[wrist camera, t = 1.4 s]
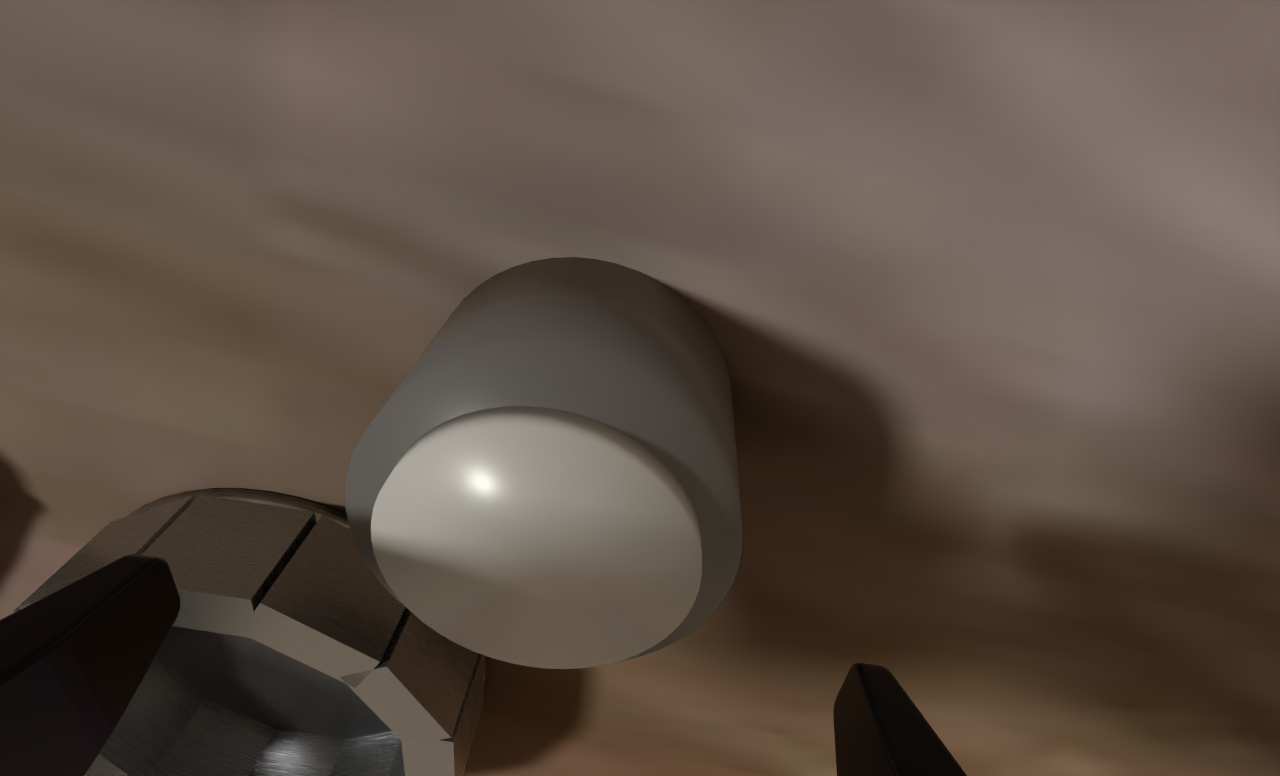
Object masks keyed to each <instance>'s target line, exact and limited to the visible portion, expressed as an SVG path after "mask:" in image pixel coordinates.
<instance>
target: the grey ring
mask: <svg viewBox="0 0 1280 776" xmlns="http://www.w3.org/2000/svg"><path fill="white" fill-rule="evenodd" d="M130 554H141V555H147V556H154V557H160V558H163V559H164V560H165V561H166V562H167V563H168V565H169V567H170V570H171V573H172V576H173V579H174V582H175V585H176V588H177V590H178V593H179V596H180V610H179V613H178V616H177V618H176V621H175V622H174V624H173V626H172V628H171V630H170V632H169V633H168V635H167V637H166V639H165V641H164V642H163V644H162V646H161V648H160V650H159V651H158V653H157V655H156V657H155V659H154V660H153V662H152V664H151V666H150V668H149V669H148V671H147V673H146V675H145V677H144V679H143V680H142V682H141V684H140V686H139V688H138V689H137V691H136V693H135V695H134V697H133V698H132V700H131V702H130V704H129V706H128V707H127V709H126V711H125V713H124V715H123V716H122V718H121V720H120V721H119V723H118V725H117V726H116V728H115V730H114V732H113V733H112V735H111V736H110V738H109V739H108V741H107V742H106V744H105V746H104V747H103V749H102V750H101V752H100V753H99V755H98V756H97V758H96V759H95V761H94V762H93V763H92V765H91V766H90V768H89V769H88V771H87V772H86V774H85V775H86V776H463V774H464V771H465V767H466V764H467V761H468V757H469V754H470V751H471V747H472V744H473V740H474V737H475V734H476V730H477V727H478V724H479V720H480V717H481V714H482V710H483V706H484V685H485V682H486V676H487V668H488V661H487V656H485V655H482V654H479V653H477V652H474V651H472V650H469V649H467V648H465V647H463V646H461V645H459V644H456V643H455V642H453V641H451V640H449V639H448V638H446V637H444V636H442V635H441V634H439V633H438V632H436V631H435V630H433V629H432V628H430V627H429V626H428V625H426V624H425V623H423V622H422V621H421V620H420V619H419V618H418V617H417V616H415V615H414V614H413V613H412V612H411V611H410V610H409V609H407V608H406V607H405V606H404V605H403V604H402V603H400V602H399V601H398V600H397V599H396V598H395V597H394V596H393V595H392V594H391V593H390V592H389V591H388V590H387V589H386V588H385V587H384V586H383V585H382V584H381V583H380V581H379V580H378V579H377V577H376V576H375V575H374V573H373V572H372V571H371V569H370V568H369V567H368V565H367V564H366V562H365V560H364V558H363V557H362V555H361V553H360V551H359V549H358V548H357V545H356V543H355V540H354V538H353V535H352V532H351V530H350V526H349V522H348V517H347V514H344V513H342V512H339V511H337V510H334V509H332V508H329V507H327V506H323V505H320V504H317V503H313V502H310V501H307V500H303V499H300V498H296V497H291V496H286V495H281V494H276V493H271V492H266V491H256V490H246V489H204V490H195V491H187V492H182V493H178V494H174V495H170V496H166V497H163V498H160V499H158V500H155V501H153V502H151V503H148V504H146V505H144V506H142V507H141V508H139V509H138V510H136V511H135V512H133V513H131V514H130V515H128V516H127V517H125V518H122V519H119V520H116V521H113V522H110V523H109V524H108V525H107V526H106V527H105V528H104V529H102V530H101V531H100V532H99V533H98V534H97V535H96V536H95V537H94V538H93V539H92V540H90V541H89V542H88V543H87V544H86V545H85V546H84V547H83V548H82V549H81V550H80V551H78V552H77V553H76V554H75V555H74V556H73V557H72V558H71V559H70V560H69V561H68V562H66V563H65V564H64V565H63V566H62V567H61V568H60V569H59V570H58V571H57V572H56V573H54V574H53V575H52V576H51V577H50V578H49V579H48V580H47V581H46V582H45V583H44V584H43V585H41V586H40V587H39V588H38V589H37V590H36V591H35V592H34V593H33V594H32V595H31V596H29V597H28V598H27V599H26V600H25V601H24V602H23V603H22V604H21V605H20V606H19V607H17V608H16V609H15V610H14V613H15V612H17V611H19V610H21V609H23V608H25V607H26V606H28V605H30V604H32V603H34V602H36V601H38V600H40V599H42V598H44V597H46V596H48V595H50V594H52V593H53V592H55V591H57V590H59V589H61V588H63V587H65V586H67V585H69V584H71V583H73V582H75V581H77V580H79V579H81V578H82V577H84V576H86V575H88V574H90V573H92V572H94V571H96V570H98V569H100V568H102V567H104V566H106V565H108V564H109V563H111V562H113V561H115V560H117V559H119V558H121V557H124V556H126V555H130Z"/></svg>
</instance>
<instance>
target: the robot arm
mask: <svg viewBox="0 0 1280 776" xmlns="http://www.w3.org/2000/svg"><path fill="white" fill-rule="evenodd" d="M179 610H180V596H179V593H178V590H177V588H176V585H175V582H174V579H173V576H172V573H171V570H170V567H169V565H168V563H167V562H166V561H165V560H164V559H163V558H160V557H154V556H147V555H141V554H130V555H126V556H124V557H121V558H119V559H117V560H115V561H113V562H111V563H109V564H108V565H106V566H104V567H102V568H100V569H98V570H96V571H94V572H92V573H90V574H88V575H86V576H84V577H82V578H81V579H79V580H77V581H75V582H73V583H71V584H69V585H67V586H65V587H63V588H61V589H59V590H57V591H55V592H53V593H52V594H50V595H48V596H46V597H44V598H42V599H40V600H38V601H36V602H34V603H32V604H30V605H28V606H26V607H25V608H23V609H21V610H19V611H17V612H15V613H13V614H11V615H9V616H7V617H5V618H3V619H1V620H0V776H84V775H85V774H86V772H87V771H88V769H89V768H90V766H91V765H92V763H93V762H94V761H95V759H96V758H97V756H98V755H99V753H100V752H101V750H102V749H103V747H104V746H105V744H106V742H107V741H108V739H109V738H110V736H111V735H112V733H113V732H114V730H115V728H116V726H117V725H118V723H119V721H120V720H121V718H122V716H123V715H124V713H125V711H126V709H127V707H128V706H129V704H130V702H131V700H132V698H133V697H134V695H135V693H136V691H137V689H138V688H139V686H140V684H141V682H142V680H143V679H144V677H145V675H146V673H147V671H148V669H149V668H150V666H151V664H152V662H153V660H154V659H155V657H156V655H157V653H158V651H159V650H160V648H161V646H162V644H163V642H164V641H165V639H166V637H167V635H168V633H169V632H170V630H171V628H172V626H173V624H174V622H175V621H176V618H177V616H178V613H179ZM834 733H835V749H836V765H837V776H967V775H966V774H965V772H964V771H963V770H962V768H961V767H960V766H959V764H958V763H957V761H956V760H955V759H954V757H953V756H952V755H951V753H950V752H949V751H948V749H947V748H946V747H945V745H944V744H943V742H942V741H941V740H940V738H939V737H938V736H937V734H936V733H935V732H934V730H933V729H932V728H931V726H930V725H929V723H928V722H927V721H926V719H925V718H924V717H923V715H922V714H921V713H920V711H919V710H918V709H917V707H916V706H915V704H914V703H913V702H912V700H911V699H910V698H909V696H908V695H907V694H906V692H905V691H904V690H903V688H902V687H901V686H900V684H899V683H898V681H897V680H896V679H895V677H894V676H893V675H892V673H891V672H890V671H889V670H888V669H886V668H885V667H882V666H878V665H871V664H864V663H856V664H854V665H853V666H852V667H851V668H850V670H849V672H848V674H847V676H846V678H845V681H844V683H843V685H842V687H841V689H840V691H839V693H838V695H837V697H836V700H835V704H834Z"/></svg>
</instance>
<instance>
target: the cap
mask: <svg viewBox="0 0 1280 776" xmlns="http://www.w3.org/2000/svg"><path fill="white" fill-rule="evenodd" d="M345 506H346V513H347V517H348V522H349V526H350V530H351V532H352V535H353V538H354V540H355V543H356V545H357V548H358V549H359V551H360V553H361V555H362V557H363V558H364V560H365V562H366V564H367V565H368V567H369V568H370V569H371V571H372V572H373V573H374V575H375V576H376V577H377V579H378V580H379V581H380V583H381V584H382V585H383V586H384V587H385V588H386V589H387V590H388V591H389V592H390V593H391V594H392V595H393V596H394V597H395V598H396V599H397V600H398V601H399V602H400V603H402V604H403V605H404V606H405V607H406V608H407V609H409V610H410V611H411V612H412V613H413V614H414V615H415V616H417V617H418V618H419V619H420V620H421V621H422V622H423V623H425V624H426V625H428V626H429V627H430V628H432V629H433V630H435V631H436V632H438V633H439V634H441V635H442V636H444V637H446V638H448V639H449V640H451V641H453V642H455V643H456V644H459V645H461V646H463V647H465V648H467V649H469V650H472V651H474V652H477V653H479V654H482V655H485V656H488V657H490V658H494V659H497V660H501V661H504V662H508V663H513V664H518V665H523V666H528V667H537V668H546V669H577V668H588V667H595V666H602V665H606V664H610V663H614V662H618V661H623V660H627V659H631V658H635V657H639V656H642V655H645V654H648V653H651V652H653V651H656V650H659V649H661V648H663V647H665V646H667V645H669V644H672V643H674V642H676V641H678V640H679V639H681V638H682V637H684V636H685V635H687V634H688V633H690V632H692V631H693V630H695V629H696V628H697V627H698V626H699V625H700V624H702V623H703V622H704V621H705V620H706V619H707V618H708V617H710V615H711V614H712V613H713V612H714V611H715V610H716V608H717V607H718V606H719V605H720V604H721V603H722V601H723V600H724V598H725V596H726V595H727V593H728V591H729V590H730V588H731V586H732V584H733V582H734V579H735V577H736V574H737V572H738V569H739V564H740V559H741V554H742V544H743V527H742V515H741V502H740V490H739V477H738V465H737V452H736V440H735V427H734V415H733V402H732V390H731V383H730V376H729V371H728V367H727V364H726V361H725V357H724V354H723V352H722V350H721V348H720V346H719V344H718V342H717V340H716V338H715V336H714V335H713V333H712V332H711V330H710V329H709V327H708V326H707V324H706V323H705V321H704V320H703V319H702V318H701V317H700V316H699V314H698V313H697V312H696V311H695V310H694V309H693V308H692V307H691V306H690V305H689V304H688V303H687V302H686V301H684V300H683V299H682V298H681V297H680V296H679V295H678V294H676V293H675V292H674V291H672V290H671V289H669V288H668V287H666V286H665V285H663V284H662V283H660V282H659V281H657V280H655V279H653V278H651V277H649V276H647V275H645V274H643V273H641V272H639V271H636V270H633V269H630V268H627V267H625V266H622V265H619V264H615V263H611V262H606V261H601V260H597V259H587V258H576V257H568V258H550V259H544V260H538V261H532V262H528V263H525V264H522V265H519V266H515V267H512V268H510V269H508V270H506V271H503V272H501V273H499V274H497V275H495V276H493V277H491V278H490V279H488V280H487V281H485V282H484V283H482V284H481V285H479V286H478V287H477V288H476V289H474V290H473V291H472V292H471V293H470V294H469V295H468V296H467V297H466V298H465V299H464V300H463V301H462V302H461V303H460V305H459V306H458V307H457V308H456V309H455V311H454V312H453V313H452V315H451V316H450V317H449V319H448V320H447V321H446V323H445V324H444V325H443V327H442V328H441V329H440V331H439V332H438V333H437V335H436V336H435V337H434V339H433V340H432V342H431V343H430V344H429V346H428V347H427V348H426V350H425V351H424V352H423V354H422V355H421V356H420V358H419V359H418V360H417V362H416V363H415V364H414V366H413V367H412V368H411V370H410V371H409V373H408V374H407V375H406V377H405V378H404V379H403V381H402V382H401V383H400V385H399V386H398V387H397V389H396V390H395V391H394V393H393V394H392V395H391V397H390V398H389V399H388V401H387V402H386V404H385V405H384V406H383V408H382V409H381V410H380V412H379V413H378V414H377V416H376V417H375V418H374V420H373V421H372V422H371V424H370V425H369V426H368V428H367V429H366V430H365V432H364V433H363V435H362V437H361V439H360V440H359V442H358V444H357V446H356V448H355V449H354V451H353V454H352V457H351V460H350V463H349V467H348V470H347V476H346V484H345Z"/></svg>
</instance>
